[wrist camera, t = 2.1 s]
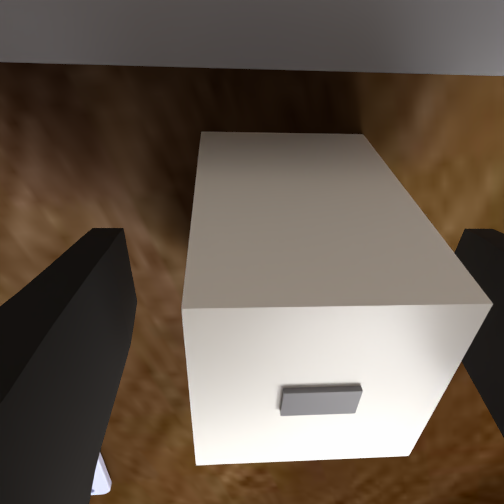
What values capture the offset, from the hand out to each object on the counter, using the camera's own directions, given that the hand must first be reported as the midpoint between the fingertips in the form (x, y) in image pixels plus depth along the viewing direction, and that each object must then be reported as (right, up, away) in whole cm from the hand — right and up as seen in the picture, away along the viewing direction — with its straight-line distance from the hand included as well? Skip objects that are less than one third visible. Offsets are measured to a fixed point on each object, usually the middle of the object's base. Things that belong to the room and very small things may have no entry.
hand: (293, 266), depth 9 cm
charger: (0, +2, +2) cm, 3 cm away
